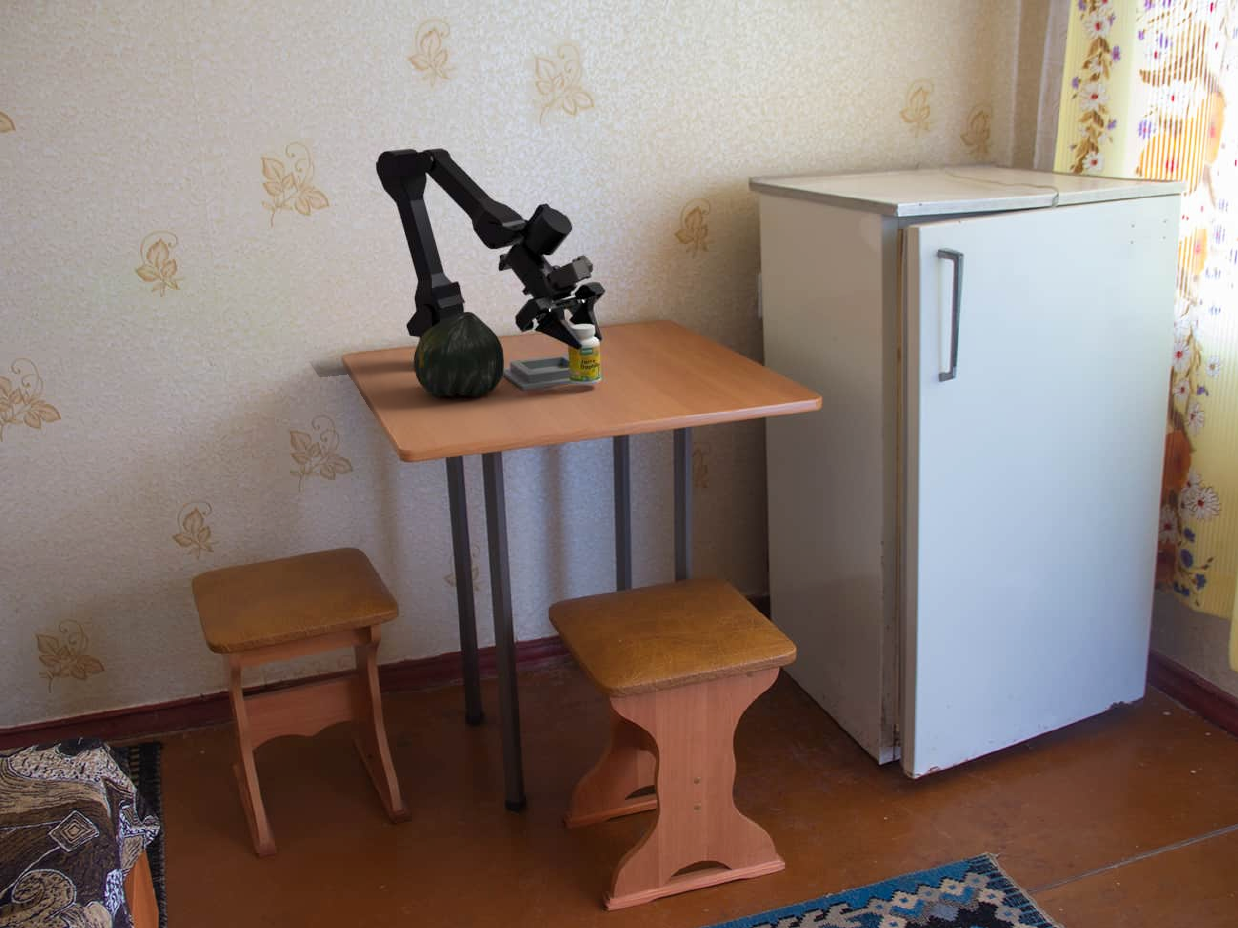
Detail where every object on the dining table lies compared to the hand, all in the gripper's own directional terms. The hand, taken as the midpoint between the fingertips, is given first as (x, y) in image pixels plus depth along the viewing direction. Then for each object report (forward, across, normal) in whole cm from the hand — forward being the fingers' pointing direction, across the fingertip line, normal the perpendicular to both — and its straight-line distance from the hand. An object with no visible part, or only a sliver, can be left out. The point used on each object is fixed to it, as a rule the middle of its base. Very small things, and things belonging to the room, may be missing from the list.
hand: (590, 344), depth 195 cm
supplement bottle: (+4, 0, +6) cm, 7 cm away
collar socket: (-3, +4, +14) cm, 15 cm away
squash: (-7, -13, +18) cm, 23 cm away
